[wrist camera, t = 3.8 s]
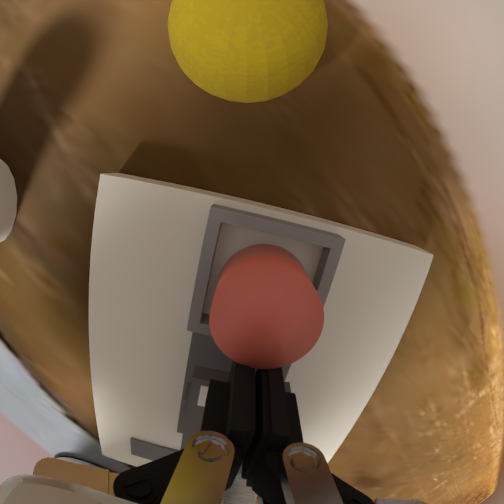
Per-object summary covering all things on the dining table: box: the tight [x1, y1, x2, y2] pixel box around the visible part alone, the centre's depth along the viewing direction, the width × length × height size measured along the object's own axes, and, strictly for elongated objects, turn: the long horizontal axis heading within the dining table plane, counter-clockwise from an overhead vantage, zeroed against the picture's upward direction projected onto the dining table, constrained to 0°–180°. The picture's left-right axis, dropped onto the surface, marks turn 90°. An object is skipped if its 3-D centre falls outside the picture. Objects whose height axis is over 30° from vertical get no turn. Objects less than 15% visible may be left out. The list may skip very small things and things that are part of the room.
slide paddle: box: [221, 474, 256, 504], centre depth 15 cm, size 2×2×3 cm
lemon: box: [168, 0, 328, 103], centre depth 9 cm, size 6×6×8 cm
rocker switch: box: [180, 365, 291, 474], centre depth 12 cm, size 7×4×1 cm, turn 166°
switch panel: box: [89, 173, 434, 467], centre depth 15 cm, size 20×16×4 cm
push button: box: [209, 244, 324, 369], centre depth 11 cm, size 4×4×3 cm
